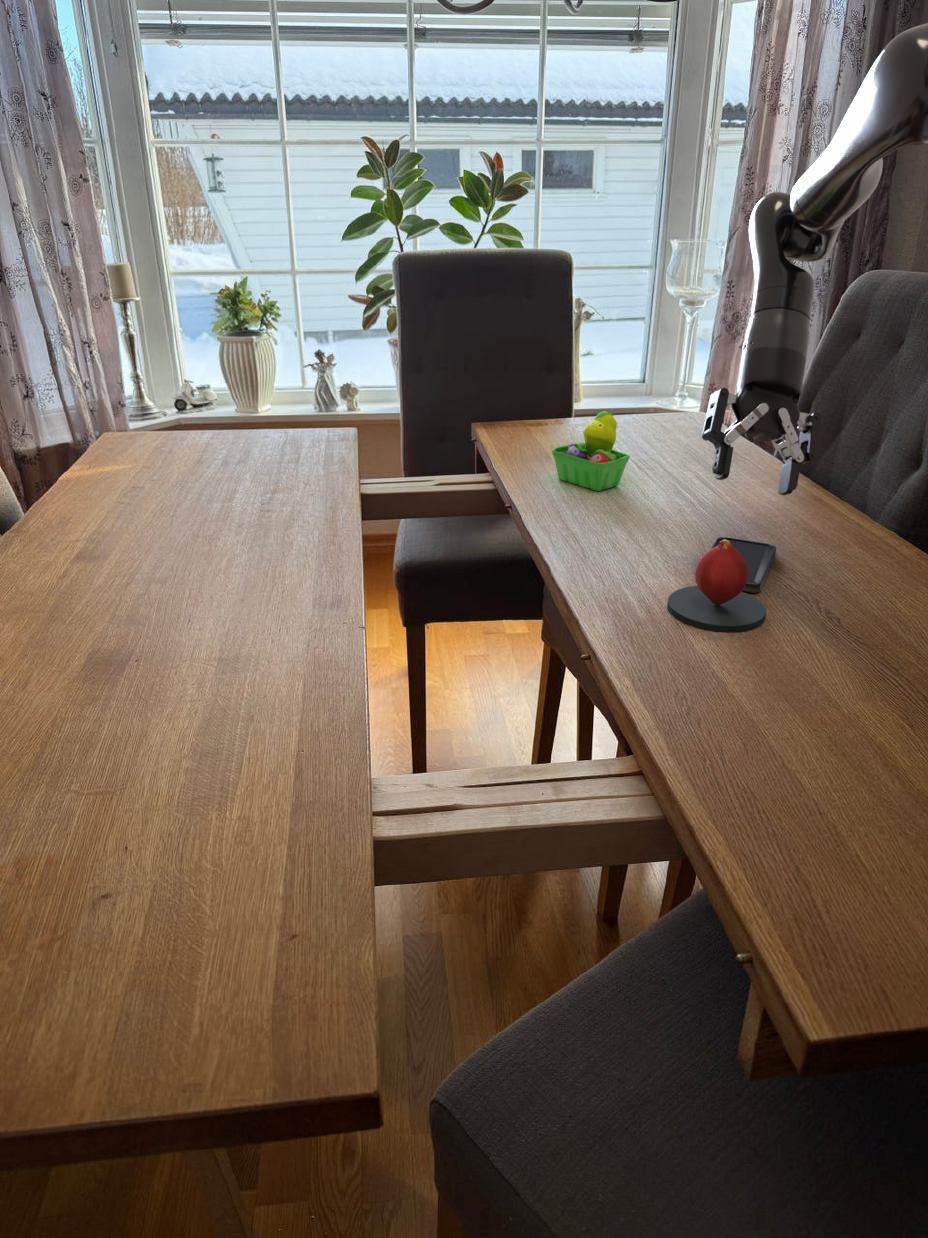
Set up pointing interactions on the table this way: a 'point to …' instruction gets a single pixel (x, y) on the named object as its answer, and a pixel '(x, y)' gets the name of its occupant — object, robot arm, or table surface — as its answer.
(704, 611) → the dark grey flat disc
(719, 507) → the table surface
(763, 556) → the phone
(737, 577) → the onion
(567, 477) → the fruit basket
